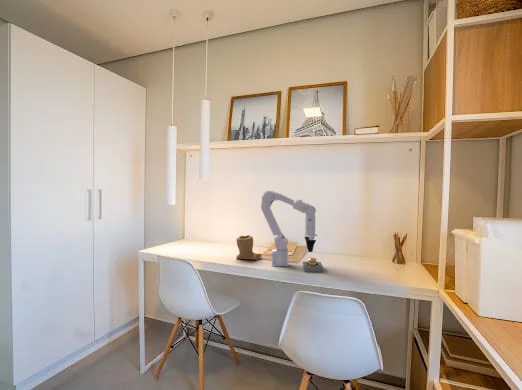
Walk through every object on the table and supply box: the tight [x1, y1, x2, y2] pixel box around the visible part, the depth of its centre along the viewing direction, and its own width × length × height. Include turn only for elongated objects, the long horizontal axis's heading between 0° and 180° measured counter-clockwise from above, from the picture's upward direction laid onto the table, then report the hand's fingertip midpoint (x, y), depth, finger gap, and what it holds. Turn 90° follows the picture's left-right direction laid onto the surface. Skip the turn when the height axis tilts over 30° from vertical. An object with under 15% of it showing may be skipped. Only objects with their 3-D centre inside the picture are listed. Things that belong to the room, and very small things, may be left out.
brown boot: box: [236, 234, 263, 261], centre depth 178 cm, size 15×12×15 cm
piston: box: [307, 257, 318, 266], centre depth 156 cm, size 5×5×6 cm
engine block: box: [302, 261, 324, 273], centre depth 156 cm, size 10×10×3 cm
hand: (309, 250), depth 162 cm, fingers open, 7 cm apart
